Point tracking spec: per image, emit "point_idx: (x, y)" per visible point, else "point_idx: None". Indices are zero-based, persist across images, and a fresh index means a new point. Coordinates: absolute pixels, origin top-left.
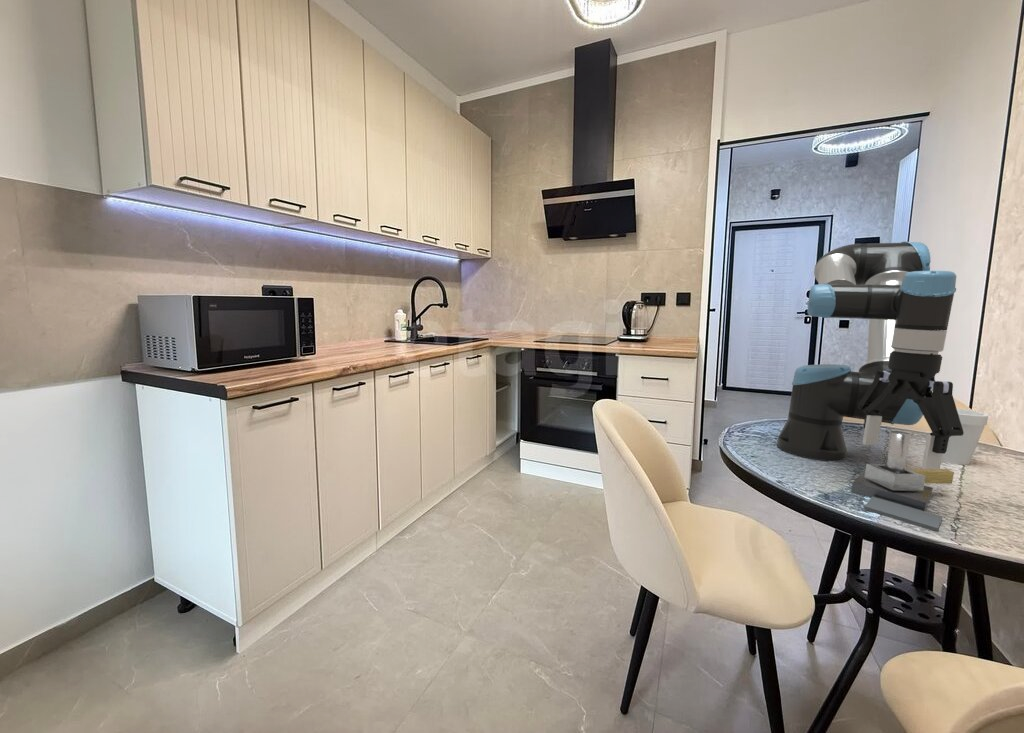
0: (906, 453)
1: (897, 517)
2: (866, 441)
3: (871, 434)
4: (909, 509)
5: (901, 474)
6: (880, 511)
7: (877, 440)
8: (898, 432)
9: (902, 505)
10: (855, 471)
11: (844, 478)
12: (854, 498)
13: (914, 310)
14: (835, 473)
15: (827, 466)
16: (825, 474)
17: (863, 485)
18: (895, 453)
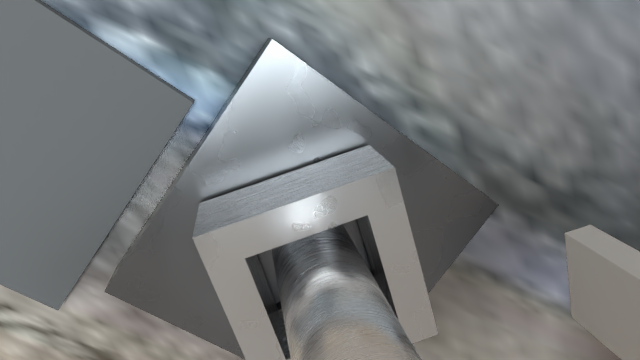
0: None
1: None
2: (585, 251)
3: (638, 316)
4: (77, 206)
5: (243, 287)
6: None
7: (599, 336)
8: None
9: (121, 197)
10: (573, 200)
11: (464, 97)
12: (170, 8)
13: None
14: (528, 82)
15: (623, 87)
16: (502, 16)
17: (245, 84)
18: (309, 334)
